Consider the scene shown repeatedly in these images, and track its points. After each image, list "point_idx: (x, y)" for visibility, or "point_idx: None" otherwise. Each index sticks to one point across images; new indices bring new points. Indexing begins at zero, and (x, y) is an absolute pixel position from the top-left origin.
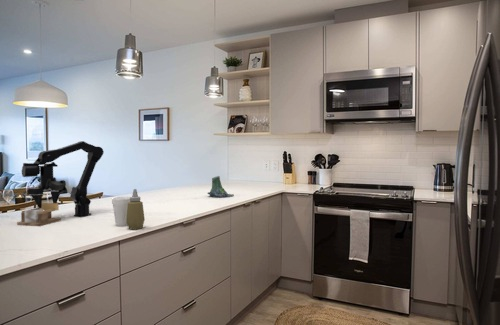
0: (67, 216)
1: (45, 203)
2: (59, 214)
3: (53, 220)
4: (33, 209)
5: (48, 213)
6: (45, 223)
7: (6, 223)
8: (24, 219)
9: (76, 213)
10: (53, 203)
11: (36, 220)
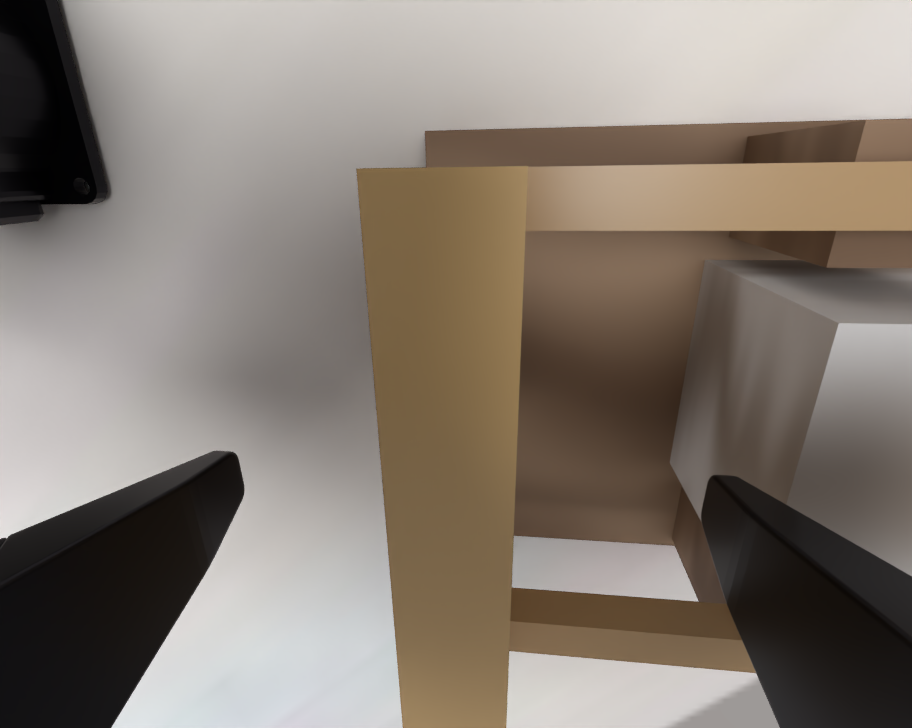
0: (158, 294)
1: (509, 566)
2: None
3: (615, 127)
4: (862, 538)
5: None
6: (811, 123)
7: (716, 684)
8: None
9: (23, 174)
10: (492, 292)
11: (897, 269)
